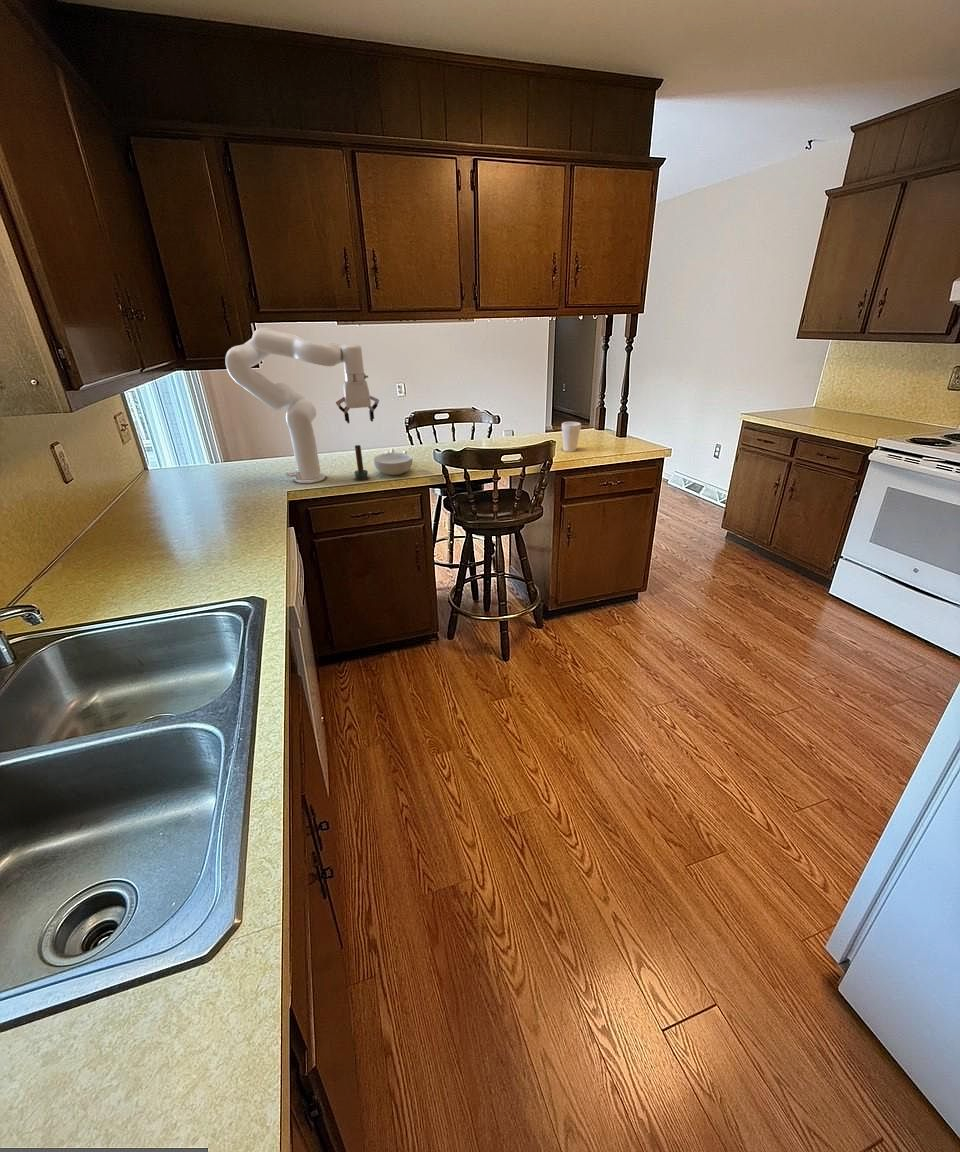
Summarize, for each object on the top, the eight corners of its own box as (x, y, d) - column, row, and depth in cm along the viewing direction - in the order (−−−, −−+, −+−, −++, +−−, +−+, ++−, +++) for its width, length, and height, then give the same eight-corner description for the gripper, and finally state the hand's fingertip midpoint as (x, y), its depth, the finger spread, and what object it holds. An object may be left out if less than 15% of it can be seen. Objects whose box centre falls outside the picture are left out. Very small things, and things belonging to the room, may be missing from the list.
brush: (356, 481, 221) (351, 448, 214) (354, 477, 226) (350, 444, 219) (369, 480, 223) (365, 446, 216) (367, 476, 227) (363, 443, 220)
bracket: (404, 467, 241) (406, 451, 238) (389, 465, 238) (391, 449, 235) (398, 460, 252) (401, 445, 249) (384, 458, 249) (386, 442, 246)
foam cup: (558, 447, 266) (559, 421, 259) (575, 447, 267) (577, 421, 260) (562, 452, 257) (564, 426, 251) (581, 451, 258) (583, 425, 252)
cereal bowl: (374, 479, 223) (373, 463, 219) (375, 468, 237) (373, 453, 234) (414, 477, 225) (413, 461, 222) (412, 466, 239) (411, 451, 236)
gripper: (374, 375, 212) (379, 418, 220) (331, 378, 206) (337, 421, 214) (378, 378, 205) (382, 421, 214) (333, 380, 200) (339, 425, 208)
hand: (360, 421), depth 214 cm, fingers open, 9 cm apart
